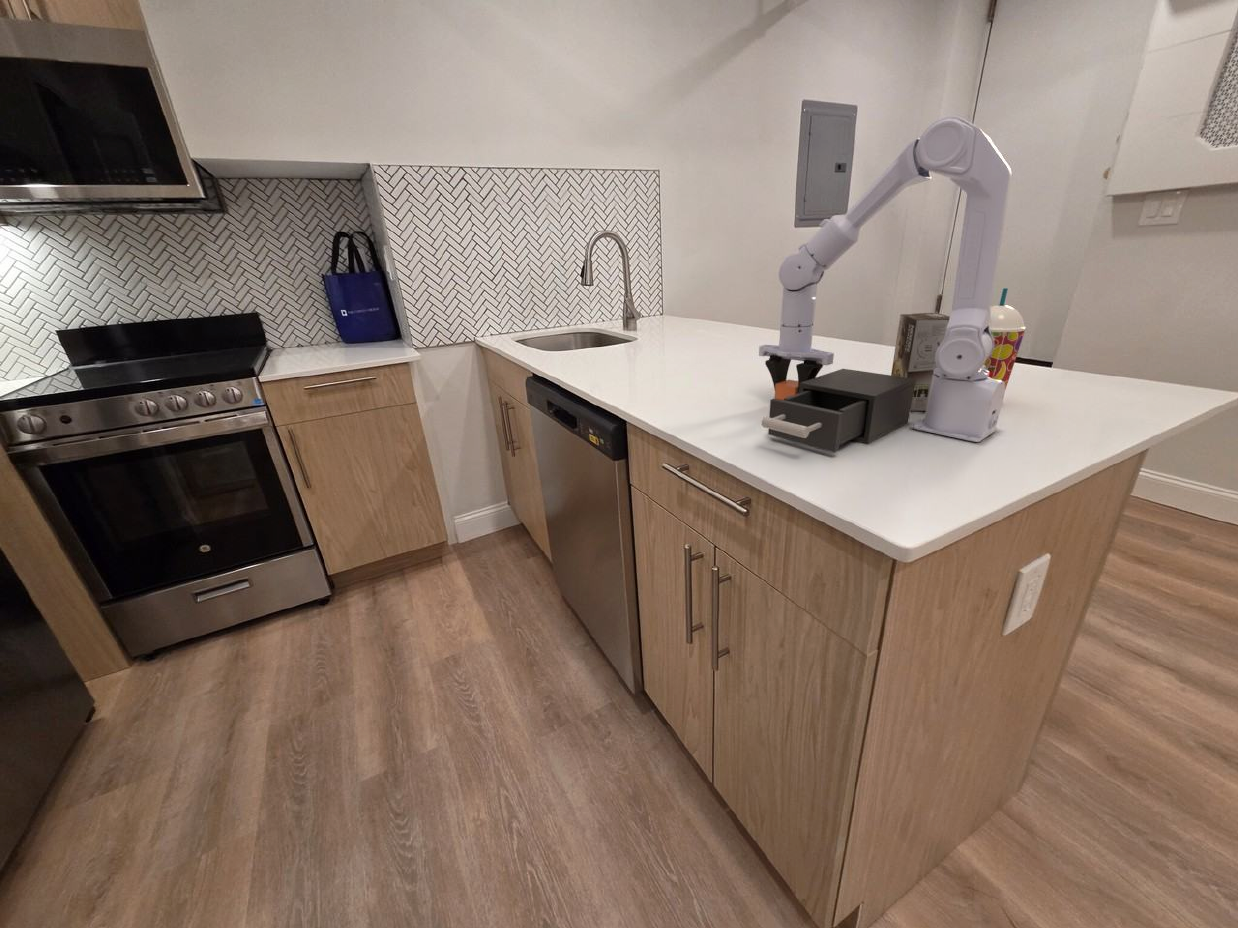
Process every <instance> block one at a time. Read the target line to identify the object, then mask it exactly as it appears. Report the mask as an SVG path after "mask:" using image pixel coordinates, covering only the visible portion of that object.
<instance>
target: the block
mask: <svg viewBox="0 0 1238 928" xmlns="http://www.w3.org/2000/svg"><path fill="white" fill-rule="evenodd" d="M795 394H798V380H794V379H786V381H783V382H780V383H776V384H775V389H774V398H776V399H781V400H784V398H787V397H790V396H792V395H795Z"/></svg>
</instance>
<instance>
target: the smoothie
mask: <svg viewBox="0 0 1238 928" xmlns="http://www.w3.org/2000/svg"><path fill="white" fill-rule="evenodd" d="M1007 295H1008V288H1007V287H1006V288H1005V287H1003V289H1002V292H1001V297H1000V301H999V304H996V305H991V323H990V332H991V335H992V337H993V339H994V350H993V352H992V354H991V356H990V357H989V358H988V359H987V360H986V361H985V363H984V364H983V365H985V367H986V369H987V371H989V376H988V377H990V378H992V379H995V380H1001V381H1004V382H1005V391H1007V386H1008V383H1009V380H1010V377H1011V375H1012V372H1013V368H1014V365H1015V363H1016V359H1017V356H1018V354H1019V351H1020V348H1021V344H1022V342H1023V339H1024V337H1025V336H1024V335H1025V331H1026V330H1027V326H1026V325H1025V319H1024V317H1023V316H1022V314H1021V313H1020V311H1019V310H1017V309H1016V308H1014V307H1012V306H1010V305H1006V304H1005V301H1006V298H1007Z"/></svg>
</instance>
